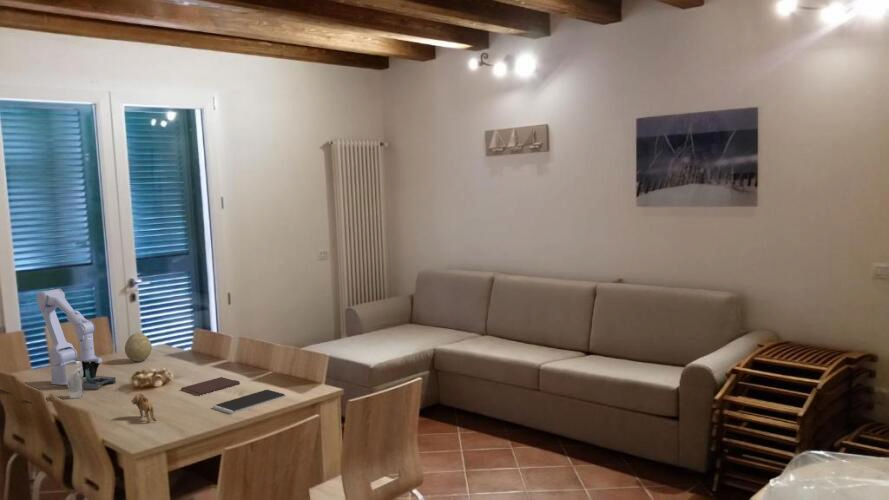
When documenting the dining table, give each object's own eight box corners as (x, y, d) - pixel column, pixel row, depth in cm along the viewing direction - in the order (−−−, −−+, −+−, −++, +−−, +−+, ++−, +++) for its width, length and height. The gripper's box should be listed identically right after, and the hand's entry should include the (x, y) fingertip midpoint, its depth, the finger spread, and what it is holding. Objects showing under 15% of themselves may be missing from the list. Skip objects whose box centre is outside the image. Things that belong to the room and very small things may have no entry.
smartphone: (287, 397, 281) (287, 393, 281) (231, 415, 260) (230, 411, 260) (268, 392, 290) (267, 388, 289) (211, 409, 269) (211, 405, 269)
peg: (83, 386, 307) (82, 370, 306) (90, 383, 311) (88, 368, 310) (90, 386, 306) (89, 370, 305) (97, 384, 310) (96, 368, 309)
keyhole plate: (74, 388, 304) (73, 382, 304) (94, 381, 315) (93, 375, 314) (96, 390, 300) (96, 384, 300) (115, 383, 310) (115, 377, 310)
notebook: (181, 391, 296) (180, 386, 295) (221, 380, 311) (220, 375, 310) (199, 397, 286) (199, 392, 286) (240, 385, 301) (239, 381, 301)
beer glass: (67, 400, 287) (63, 365, 285) (67, 396, 293) (64, 362, 291) (85, 397, 290) (82, 363, 288) (85, 393, 296) (82, 359, 294)
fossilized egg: (130, 358, 356) (128, 331, 354) (155, 357, 357) (153, 329, 356) (122, 365, 343) (119, 336, 342) (148, 363, 345) (145, 334, 343)
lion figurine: (131, 417, 262) (129, 394, 261) (144, 413, 266) (142, 391, 265) (149, 424, 252) (148, 401, 252) (163, 420, 257) (161, 397, 256)
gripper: (106, 346, 308) (108, 375, 309) (82, 345, 313) (84, 374, 314) (93, 350, 301) (96, 380, 303) (69, 349, 306) (71, 378, 307)
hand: (89, 377), depth 308 cm, fingers open, 4 cm apart
